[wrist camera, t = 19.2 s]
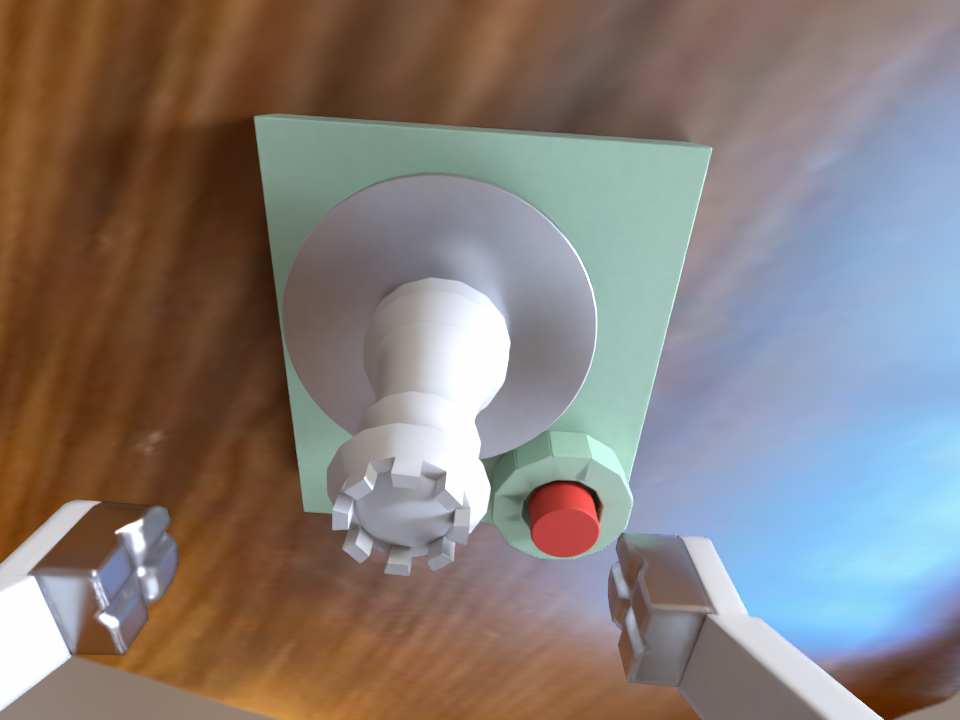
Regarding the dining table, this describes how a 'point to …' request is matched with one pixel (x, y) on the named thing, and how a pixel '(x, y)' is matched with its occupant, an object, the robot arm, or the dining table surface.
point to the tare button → (563, 519)
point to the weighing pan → (452, 256)
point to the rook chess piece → (420, 426)
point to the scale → (590, 229)
